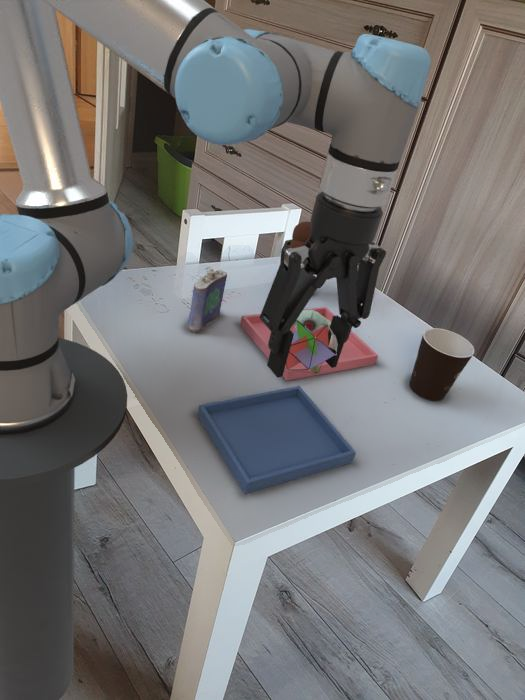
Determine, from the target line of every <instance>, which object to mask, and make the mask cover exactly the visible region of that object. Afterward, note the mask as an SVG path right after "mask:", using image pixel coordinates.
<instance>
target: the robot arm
mask: <svg viewBox="0 0 525 700" xmlns="http://www.w3.org/2000/svg"><path fill="white" fill-rule="evenodd" d="M56 12H58V13H59V14H60V15H62V16H63V17H64V18H66V19H67V20H68V21H70V22H71V23H72V24H74V25H75V26H76V27H78V28H79V29H80V30H82V31H83V32H85V33H86V34H87V35H89V36H90V37H91V38H93V39H94V40H96V41H97V42H98V43H100V44H101V45H102V46H104V47H105V48H107V50H109V51H111V52H112V53H113V54H114V55H116V56H118V57H119V58H120V59H121V60H123V62H125V63H126V64H128V65H129V66H131V67H132V68H133V69H135V70H136V71H137V72H139V73H140V74H142V75H143V76H144V77H146V78H147V79H148V80H150V81H151V82H152V83H154V85H156V86H158V87H159V88H160V89H162V90H163V91H164V92H166V93H167V94H168V95H170V96H171V97H173V98H174V99H175V103H176V106H177V109H178V111H179V114H180V115H181V117H182V120H183V121H184V123H185V124H186V127H188V129H189V130H190V131H191V132H192V133H193V134H194V135H196V136H197V137H198V138H200V139H201V140H203V141H205V142H208V143H209V144H212V145H218V146H231V145H236V144H241V143H248V142H252V141H254V140H257V139H259V138H260V137H262V136H264V135H266V133H267V132H268V131H270V130H272V129H275V128H277V127H280V126H282V125H284V124H286V123H289V124H292V125H297V126H300V127H305V128H309V129H313V130H316V131H317V132H322V133H328V134H330V135H331V138H330V144H329V147H328V151H327V154H326V158H325V162H324V166H323V170H322V172H321V177H320V181H319V183H318V187H319V190H320V192H319V193H318V194H317V195H316V196H315V200H314V205H313V208H312V213H311V217H310V220H309V222H310V224H311V234H310V236H309V238H308V239H307V241H306V242H305V244H304V246H301V247H297V248H291V247H290V246H289V245H285V246H284V247H283V246H282V247H281V250H280V261H279V266H278V269H277V271H276V274H275V277H274V279H273V282H272V283H271V287H270V289H269V292H268V294H267V297H266V300H265V301H264V305H263V307H262V309H261V312H260V314H261V315H260V320H261V321H262V322H263V323H264V324H265V325H266V326H267V328H268V329H269V330H270V331H271V334H270V338H269V342H268V348H269V349H270V350H271V351H270V355H269V359H268V358H267V359H268V360H267V362H266V363H267V365H266V366H267V367H268V368H269V369H270V371H271V372H272V373H273V374H274V376H275V377H276V378H277V379H279V378H282V377H283V372H284V369H285V365H286V362H287V358H288V354H289V351H290V347H291V343H292V340H293V336H294V334H293V332H292V331H291V330H290V329H291V327H292V326H293V324H294V323H295V321H296V320H297V318H298V317H299V315H300V314H301V312H302V311H303V309H306V306H307V305H308V303H309V302H310V300H311V298H312V297H313V296H314V294H315V293H316V291H317V290H318V289H321V288H322V287H323V286H324V285H325V283H326V282H327V280H331V279H336V280H335V281H336V290H337V292H336V293H337V302H338V303H337V304H338V314H339V315H335V316H333V318H332V321H331V325H330V328H329V331H328V342H329V343H330V339H331V335H332V333H331V331H330V329H331V330H332V332H333V334H334V335H335V336H336V338H337V342H338V347H337V352H336V351H335V350H333V349H332V348H331V349H330V348H329V347H328V348H329V349H330V350H332V351H333V352H334V353H335V354H337V355H335V356H333V357H331V358H330V359H328V360H326V362H327V363H328V362H329V361H330V360H331V359H332V358H333V359H332V360H331V361H330V362H329V363H328V364H329V366H330V367H331V368H333V367H336V366H337V363H338V360H339V357H340V354H341V351H342V348H343V345H344V343H346V342H347V340H348V338H349V335H350V332H351V331H352V330H353V328H354V329H358V328H359V327H360V326H361V325H362V321H361V319H362V320H367V319H368V318H369V317H370V314H371V310H372V305H373V301H374V296H375V290H376V285H377V281H378V276H379V271H380V267H381V265H382V263H383V262H384V259H385V257H386V255H387V251H386V250H385V249H384V248H382V247H381V246H380V245H378V244H376V243H375V242H374V241H375V239H376V236H377V233H378V230H379V227H380V224H381V221H382V217H383V215H384V212H383V209H382V207H384V206H386V204H387V202H388V199H389V196H390V192H391V190H392V187H393V183H394V180H395V177H396V174H397V172H398V169H399V167H400V163H401V160H402V157H403V154H404V151H405V149H406V146H407V143H408V140H409V137H410V135H411V131H412V129H413V127H414V122H415V120H416V118H417V114H418V111H419V109H420V105H421V102H422V97H423V94H424V90H425V86H426V83H427V81H428V80H427V79H428V76H429V73H430V69H431V65H432V59H431V56H430V53H429V51H428V50H426V48H424V47H421V46H419V45H415V44H412V43H408V42H405V41H400V40H397V39H393V38H388V37H384V36H379V35H375V34H370V33H363V34H361V35H359V37H358V38H357V40H356V42H355V46H354V47H353V48H352V49H351V52H349V51H340V50H335V49H334V50H333V49H330V48H326V47H323V46H319V45H316V44H312V43H310V42H309V43H308V42H305V41H302V40H299V39H295V38H291V37H287V36H282V35H280V34H279V33H277V32H273V31H265V30H263V31H261V30H257V29H252V28H251V29H250V28H247V29H242V27H240V26H239V25H238V24H236V23H234V22H233V21H232V20H231V19H229V18H228V17H226V16H225V15H223V14H222V13H220V12H219V11H217V10H216V8H214V7H213V6H212V5H211V4H209V3H208V2H207V1H206V0H0V105H1V106H0V107H1V110H2V114H3V117H4V121H5V124H6V128H7V132H8V134H9V138H10V142H11V145H12V150H13V153H14V157H15V160H16V164H17V167H18V171H19V174H20V177H21V181H22V185H23V187H22V190H21V191H20V193H19V195H18V196H17V198H16V199H15V205H16V206H15V207H16V209H17V213H18V214H16V213H13V214H11V213H4V214H1V215H0V434H18V433H24V432H29V431H32V430H36V429H39V428H41V427H44V426H46V425H48V424H50V423H52V422H54V421H55V420H57V419H58V418H59V417H61V416H62V415H63V414H64V413H65V412H66V411H67V410H68V408H69V407H70V405H71V403H72V400H73V396H74V383H75V377H74V375H73V372H72V374H71V372H70V370H69V367H68V365H67V363H66V360H65V358H64V356H63V354H62V351H61V349H60V347H59V338H60V324H59V323H60V322H59V321H60V316H61V314H62V313H63V312H65V311H67V309H69V308H70V307H72V306H73V305H75V304H77V303H78V302H79V301H81V300H83V299H84V298H86V297H88V295H90V294H92V293H93V292H94V291H96V290H97V289H99V288H100V287H103V286H106V285H107V284H109V283H110V282H112V281H113V280H114V279H115V278H116V276H118V274H119V273H121V272H122V271H123V270H124V269H125V267H126V266H127V264H128V263H129V261H130V259H131V256H132V251H133V246H134V240H133V231H132V227H131V225H130V222H129V220H128V217H127V216H126V215H125V213H124V212H122V211H120V210H119V207H118V205H117V204H116V203H114V202H113V201H111V200H110V198H109V195H108V194H109V193H108V189H107V187H106V186H104V185H103V184H101V182H99V181H98V180H96V179H95V178H94V177H93V175H92V171H91V167H90V162H89V156H88V153H87V148H86V144H85V139H84V135H83V130H82V126H81V122H80V117H79V111H78V107H77V102H76V98H75V94H74V90H73V85H72V80H71V75H70V71H69V67H68V61H67V57H66V53H65V48H64V43H63V40H62V35H61V31H60V26H59V20H58V17H57V13H56ZM306 258H307V259H306ZM305 259H306V261H305V262H304V260H305ZM303 262H304V263H303ZM311 270H312V272H313V273H315V275H316V276H315V275H313V274H312V273H311ZM330 334H331V335H330Z"/></svg>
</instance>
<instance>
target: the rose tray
mask: <svg viewBox="0 0 525 700" xmlns="http://www.w3.org/2000/svg"><path fill="white" fill-rule="evenodd" d="M303 310H315V311H316V312H318V313H319V314H321V315H322V316H323V317H325V318H326V319H328V320H329V321H332V318H333V316H336V315H335V313H333V312H332V311H331V310H330V309H329V308H328V307H327V306H321V307H310V308H304V309H303ZM260 315H261V313H256V314H248V315H247V314H246V315H242V316H241V319H240V327H241V328H242V329H243V330H244V331H245V333H246V334H247V335H248V336H249V338H250V339H251V340H252V341H253V342H254V343H255V345H256V346H257V348H258V349H259V350H260V351H261V352H262V353H263V355H264V356H265V357H266V358H267V359H269V355H270V351H271V350H270V349H269V348H268V342H269V338H270V334H271V331H270V330H269V329H268V328H267V326H266V325H265V324H264V323H263V322H262V321H261V320H260ZM293 326H294V327H293ZM293 326H292V327H291V329H290V330H291V331H292V332H295V331H297V330H296V327H295V325H294V324H293ZM292 328H293V329H292ZM328 331H329V330H328ZM378 358H379V355H378V353H376V352H375V351H374V350H373V349H372V348H371V347H370V346H369V345H368V344H367V343H365V341H364V340H363V339H361V338H360V337H359V336H358V335H357V334H356V333H355V332H354V331H353V330H351V332H350V335H349V338H348V340H347V342H346V343H344V345H343V348H342V351H341V354H340V357H339V360H338V363H337V366H336V367H333V368H331V367H330V366H329V364H328V363H327V362H326V361H324V362H323V363H321V364H322V365H321V364H319V365H317V368H318V371H319V373H318V374H315V371H314V370H313V369H310V370H311V371H310V370H294V371H292V370H287V367H286V366H287V365H285V369H284V372H283V376H282V377H283V379H284V380H285V381H290V380H291V381H292V380H298V379H302V378H303V379H304V378H308V377H314V376H318V375H319V376H320V375H325V374H330V373H335V372H336V373H337V372H341V371H346V370H347V371H348V370H353V369H357V368H363V367H364V368H365V367H370V366H374V365H376V363H377V360H378ZM320 366H321V368H320ZM290 369H307V368H306V367H305V366H304V365H303V364H302V363H301V362H300V363H299V364H297V365H295V366H293V367H291V368H290ZM319 369H320V370H319ZM300 371H302V372H300ZM307 372H309V373H307Z"/></svg>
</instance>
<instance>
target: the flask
mask: <svg viewBox="0 0 525 700" xmlns="http://www.w3.org/2000/svg"><path fill="white" fill-rule="evenodd" d="M204 270H206V273H205V274H204V275H203V276H202V277H200V278H199V279H198V280H197V281H196V282H195V283H194V285H193V288H192V297H191V298H192V299H191V305H190V311H189V316H188V323H187V330H188V331H189V332H192V333H195V334H196V333H197V332H202V331H203V329H204V328H206V327H207V326H209V325H210V323H212V322H213V321H215V320H216V319H218V318H219V317H220V313H221V308H222V302H223V298H224V292H225V288H226V282H227V278H228V273H227V272H226V271H224V270H221V269H216V270H214V268H213V267H210V266H206V267H205V269H204Z"/></svg>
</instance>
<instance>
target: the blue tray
mask: <svg viewBox="0 0 525 700" xmlns="http://www.w3.org/2000/svg"><path fill="white" fill-rule="evenodd" d="M197 410H198V411H197V417H198V419H199V420H200V422H201V424H202V426H203V427H204V429H205V430H206V432H207V434H208V435H209V437H210V439H211V440H212V442H213V445H215V447H216V449H217V451H218V452H219V454H220V456H221V457H222V459H223V461H224V462H225V464H226V465H227V467H228V469H229V471H230V472H231V474H232V475H233V477H234V479H235V480H236V482H237V484H238V485H239V487H240V488H241V490H242V492H243V493H244V494H248V493H252V492H255V491H258V490H263V489H266V488H269V487H272V486H276V485H280V484H282V483H287V482H290V481H293V480H296V479H300V478H303V477H307V476H310V475H315V474H318V473H321V472H325V471H327V470H331V469H334V468H338V467H342V466H345V465H349V464H352V463H353V461H354V458H355V456H356V454H357V452H356V450H354V448H353V447H352V446H351V445H350V444H349V442H348V441H347V440H346V438H345V437H344V436H343V435H342V434H341V433H340V432H339V431H338V430H337V428H336V427H335V426H334V424H332V421H330V419H328V418H327V416H326V415H325V414H324V413H323V412H322V411H321V410H320V408H319V407H318V406H317V405H316V403H315V402H314V401H313V399H312V398H311V397H310V396H309V395H308V394H307V393H306V391H305V390H304V389H303V388H302V387H301V386H300V385H296V386H291V387H286V388H281V389H276V390H271V391H266V392H265V391H264V392H260V393H255V394H249V395H245V396H244V395H243V396H239V397H233V398H229V399H224V400H217V401H213V402H208V403H203V404H199V405H198V409H197Z"/></svg>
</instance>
